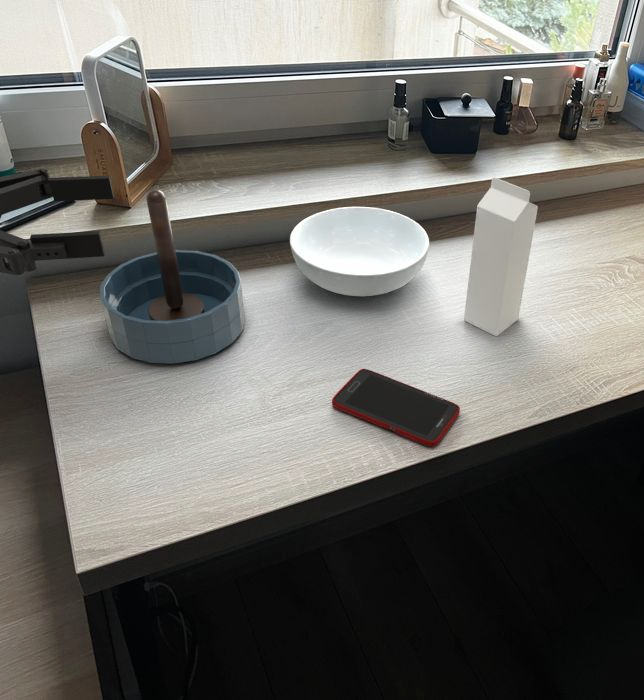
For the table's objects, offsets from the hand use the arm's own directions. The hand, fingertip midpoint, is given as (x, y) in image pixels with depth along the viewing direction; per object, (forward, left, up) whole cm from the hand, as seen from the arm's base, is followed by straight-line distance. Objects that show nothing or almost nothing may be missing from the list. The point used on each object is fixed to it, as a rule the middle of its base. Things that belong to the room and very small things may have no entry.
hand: (107, 213), depth 83 cm
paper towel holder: (+6, +2, -19) cm, 20 cm away
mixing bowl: (+6, +2, -20) cm, 21 cm away
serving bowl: (+34, 0, -20) cm, 40 cm away
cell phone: (+21, -28, -20) cm, 40 cm away
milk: (+44, -20, -20) cm, 53 cm away
